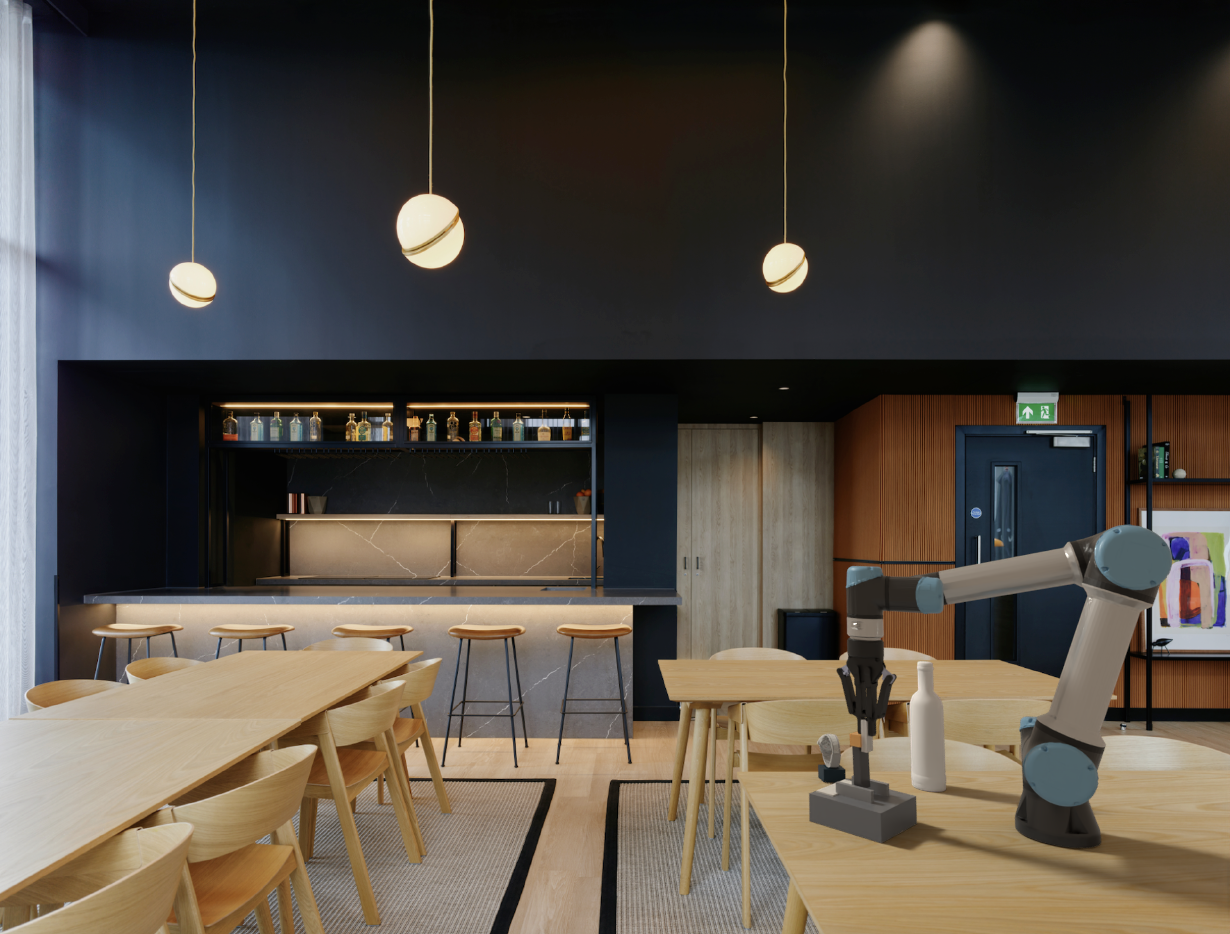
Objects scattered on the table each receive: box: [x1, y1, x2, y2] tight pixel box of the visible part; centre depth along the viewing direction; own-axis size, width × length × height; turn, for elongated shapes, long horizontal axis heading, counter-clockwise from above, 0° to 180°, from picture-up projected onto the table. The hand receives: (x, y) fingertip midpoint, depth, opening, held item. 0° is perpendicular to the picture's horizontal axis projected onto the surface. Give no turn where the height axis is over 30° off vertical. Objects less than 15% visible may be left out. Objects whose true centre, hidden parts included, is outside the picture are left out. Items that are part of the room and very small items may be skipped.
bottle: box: [909, 660, 947, 793], centre depth 182 cm, size 8×8×30 cm
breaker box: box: [808, 774, 918, 844], centre depth 156 cm, size 16×16×8 cm
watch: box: [816, 733, 847, 784], centre depth 186 cm, size 6×8×11 cm
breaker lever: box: [849, 731, 871, 788], centre depth 157 cm, size 2×4×11 cm, turn 134°
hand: (867, 751), depth 156 cm, fingers closed
